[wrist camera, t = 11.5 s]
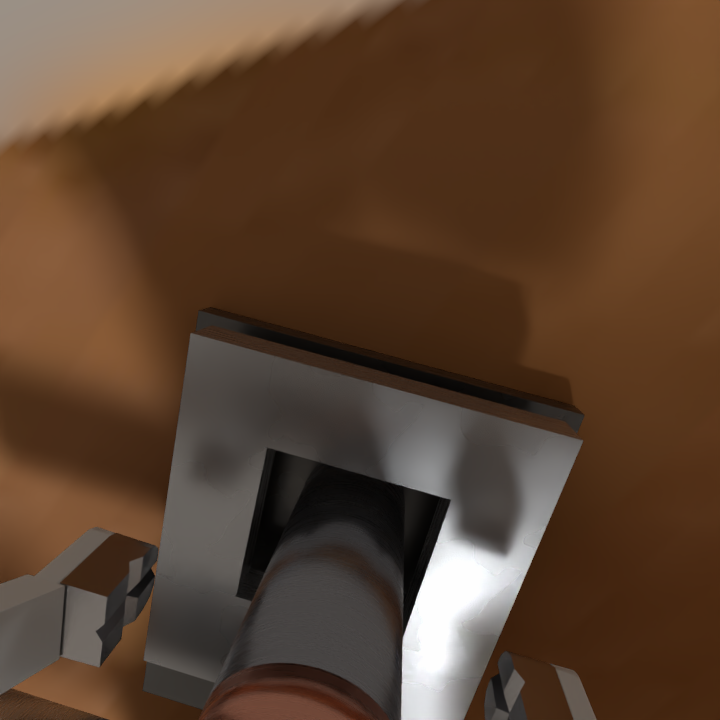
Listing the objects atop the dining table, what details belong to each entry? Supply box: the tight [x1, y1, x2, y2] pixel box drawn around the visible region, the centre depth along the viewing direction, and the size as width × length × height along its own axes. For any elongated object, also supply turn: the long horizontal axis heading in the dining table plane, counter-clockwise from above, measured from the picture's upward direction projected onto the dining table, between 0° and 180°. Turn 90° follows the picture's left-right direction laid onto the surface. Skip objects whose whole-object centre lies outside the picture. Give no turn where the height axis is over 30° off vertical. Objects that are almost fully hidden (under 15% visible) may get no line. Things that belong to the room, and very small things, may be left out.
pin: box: [198, 463, 405, 720], centre depth 10 cm, size 3×3×8 cm
